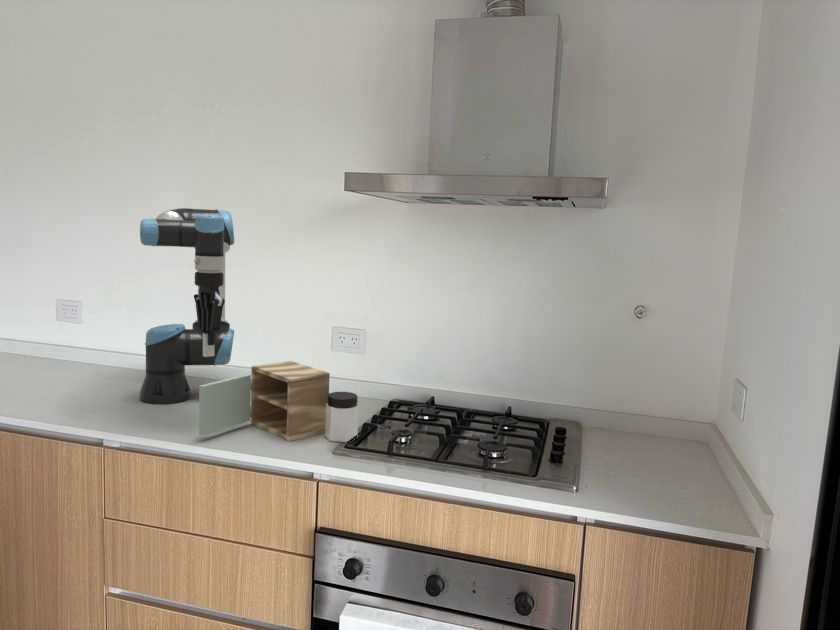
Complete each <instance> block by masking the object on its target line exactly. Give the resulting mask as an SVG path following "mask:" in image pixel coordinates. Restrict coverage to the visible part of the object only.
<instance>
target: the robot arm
mask: <svg viewBox="0 0 840 630" xmlns="http://www.w3.org/2000/svg"><path fill="white" fill-rule="evenodd" d="M234 231H235V230H234V223H233V218H232V214H231V212H230V211H227V210H221V209H203V208H187V207H186V208H185V207H184V208H183V207H182V208H175V209H170V210H167V211H163V212H161V213H160V214H158V215H157V216H156V218H152V217H151V218H142V219H141V220H140V223H139V238H140V243H141V245H144V246H148V247H149V246H151V247H179V248H194V251H195V252H194V260H193V263H194V270H195V273H194V285H195V286H197V293H196V294H194V295H193V299H194V302H195V309H196V311H195V312H196V320H195V321H194V322H193V323H192V328H191V329H190V328H187V329H186V326H185V325H184V324H183V323H178V324H177V323H172V324H163V325H158V326H154V327H152V328H151V327H150V328H149V329H148V330H146V331H147V332H146V334H145V343H144V346H145V376H144V379H143V382H142V385H141V388H140V391H139V400H140V401H142V402H144V403H146V404H147V403H148V404H156V405H159V404H160V405H163V404H166V405H167V404H175V403H181V402H185V401H187V400H189V399H190V398H191V395H192V394H191V388H190V384H189V381H188V379H187V376H186V368H185V367H186V366H214V367H215V366H224V365H228V364H229V363H230V361H231V357H232V351H233V343H234V337H235V330H234V329H233V328H230V327H231V325H230V322H228V321H227V320H226V253H227V252H229V251H230V249H231V246H233V245H234V244H235V233H234Z"/></svg>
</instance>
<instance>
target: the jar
mask: <svg viewBox="0 0 840 630" xmlns="http://www.w3.org/2000/svg"><path fill="white" fill-rule="evenodd" d="M358 426H359V405H358V395H357V394H356V393H354V392H350V391H333V392H329V394H328V403H327V404H326V424H325V433H324V436H325V438H326V439H327V440H328V441H330V442H334V443H335V442H337V443H348V442H347V441H349V440H350V439H351V438H353V437H354V436H356V435H357V436H358V428H359V427H358ZM349 442H350V441H349Z"/></svg>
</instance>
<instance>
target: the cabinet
mask: <svg viewBox="0 0 840 630" xmlns="http://www.w3.org/2000/svg"><path fill="white" fill-rule="evenodd" d="M250 372H251V373H250V375H251V379H252V390H251V397H250V406H252V415H251V417H250V425H253V426H255V427H257V428H259V429H261V430H263V431H266V432H268V433H270V434H272V435H275V436H276V437H279V438H281V439H283V440H285V441H288V442H292V441H295V440H299V439H303V438H308V437H311V436H317V435H320V434H325V424H326V404H327V403H328V394H330V377H331V376H330V375H331V374H330V372H328V371H325V370H322V369H318V368H315V367H312V366H308V365H305V364H301V363H299V362H296V361H292V360H286V361H285V360H284V361H278V362H272V363H271V362H270V363H264V364H256V365H251V371H250Z"/></svg>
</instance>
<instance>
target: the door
mask: <svg viewBox="0 0 840 630" xmlns="http://www.w3.org/2000/svg"><path fill="white" fill-rule="evenodd" d="M251 390H252V379H251V374H248V373H246V374H242V375H237V376H233V377H230V378H225V379H221V380H217V381H213V382H209V383H205V384H201V385H199V386H198V398H199V399H198V435H199V436H203V437H204V436H207V435H210V434H213V433H216V432H219V431H223V430H225V429H229V428H232V427H234V426H237V425H241V424H243V423H246V422H251V415H252V406H251Z"/></svg>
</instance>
